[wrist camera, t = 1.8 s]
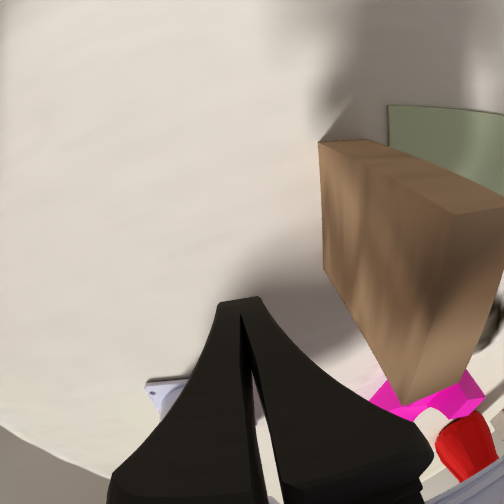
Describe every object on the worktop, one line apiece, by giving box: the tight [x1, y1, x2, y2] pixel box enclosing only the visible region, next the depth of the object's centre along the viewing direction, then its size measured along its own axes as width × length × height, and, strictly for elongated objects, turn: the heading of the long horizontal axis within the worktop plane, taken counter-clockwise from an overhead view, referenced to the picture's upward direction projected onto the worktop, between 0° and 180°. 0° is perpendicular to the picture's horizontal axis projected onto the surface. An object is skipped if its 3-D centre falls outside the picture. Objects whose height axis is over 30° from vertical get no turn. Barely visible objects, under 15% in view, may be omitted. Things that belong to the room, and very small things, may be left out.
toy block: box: [369, 369, 486, 422], centre depth 26 cm, size 15×6×8 cm, turn 159°
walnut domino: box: [318, 139, 504, 407], centre depth 13 cm, size 8×3×11 cm, turn 7°
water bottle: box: [435, 411, 499, 483], centre depth 28 cm, size 9×11×25 cm
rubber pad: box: [387, 105, 504, 196], centre depth 18 cm, size 12×12×1 cm
